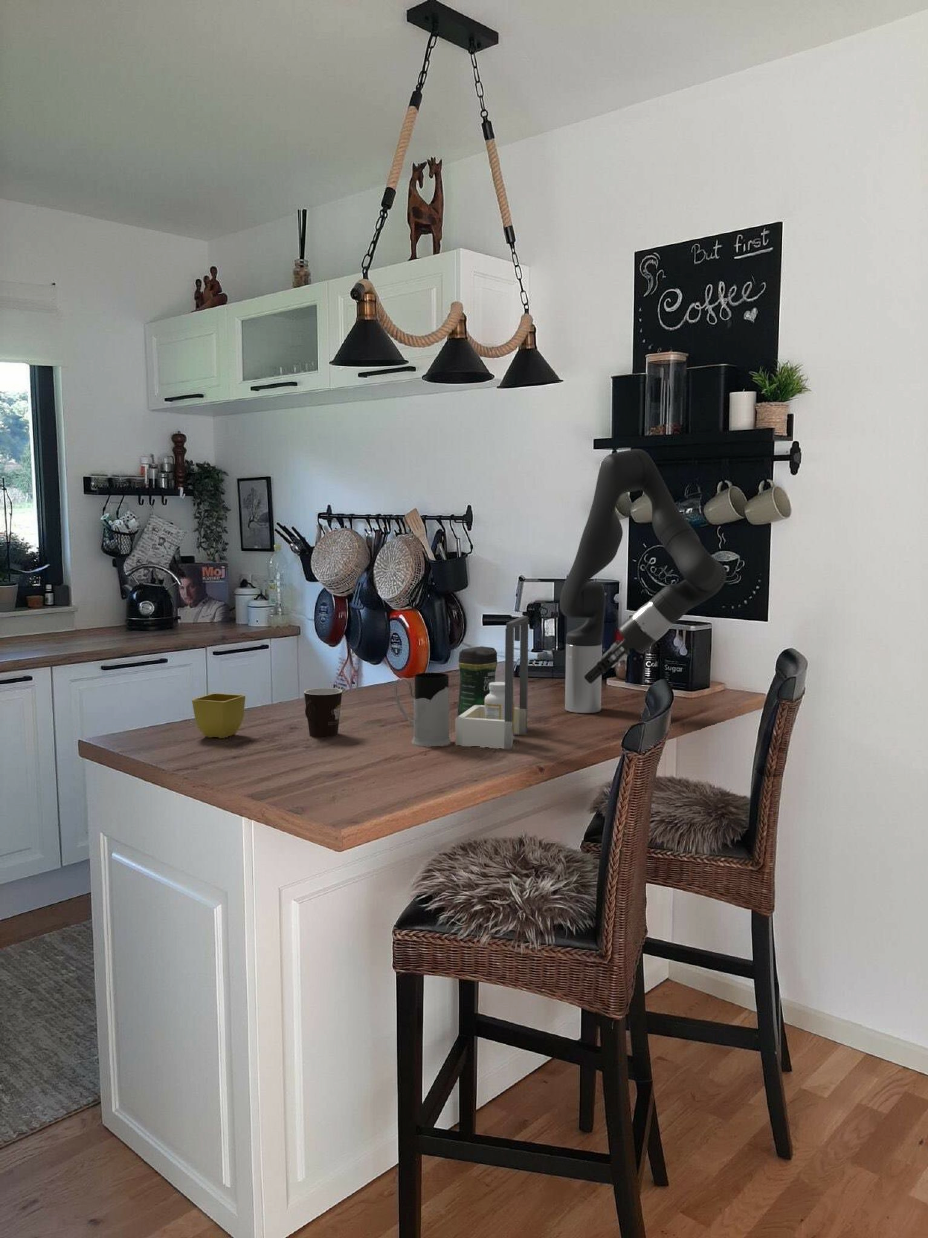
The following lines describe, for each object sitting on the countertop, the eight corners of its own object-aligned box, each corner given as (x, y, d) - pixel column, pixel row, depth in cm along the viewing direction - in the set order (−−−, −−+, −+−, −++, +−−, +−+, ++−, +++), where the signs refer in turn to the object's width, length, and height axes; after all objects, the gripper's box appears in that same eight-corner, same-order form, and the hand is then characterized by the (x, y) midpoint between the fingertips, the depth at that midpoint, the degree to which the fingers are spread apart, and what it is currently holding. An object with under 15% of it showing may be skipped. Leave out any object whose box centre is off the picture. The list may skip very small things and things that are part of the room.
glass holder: (437, 748, 208) (437, 679, 206) (383, 740, 215) (383, 674, 214) (458, 741, 215) (459, 674, 214) (406, 733, 223) (406, 668, 221)
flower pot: (191, 738, 217) (190, 699, 216) (214, 730, 225) (213, 692, 224) (225, 742, 214) (224, 701, 213) (247, 733, 222) (246, 695, 221)
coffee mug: (327, 728, 227) (327, 686, 226) (350, 734, 221) (349, 691, 220) (285, 736, 219) (285, 692, 218) (308, 742, 213) (307, 698, 212)
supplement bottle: (509, 736, 220) (509, 680, 219) (517, 742, 214) (518, 685, 213) (481, 737, 219) (481, 681, 218) (488, 744, 212) (489, 686, 211)
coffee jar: (477, 728, 228) (478, 650, 226) (452, 723, 233) (452, 647, 231) (502, 722, 236) (503, 646, 234) (477, 717, 241) (477, 643, 239)
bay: (474, 730, 226) (475, 614, 224) (527, 733, 223) (528, 616, 220) (455, 745, 211) (455, 621, 208) (511, 749, 208) (512, 623, 205)
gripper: (637, 610, 212) (580, 662, 217) (630, 616, 199) (570, 672, 204) (661, 635, 211) (603, 687, 216) (655, 643, 198) (594, 698, 203)
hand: (587, 680), depth 210 cm, fingers closed
